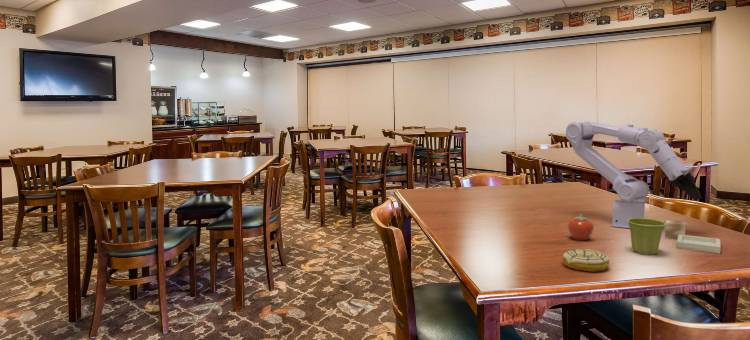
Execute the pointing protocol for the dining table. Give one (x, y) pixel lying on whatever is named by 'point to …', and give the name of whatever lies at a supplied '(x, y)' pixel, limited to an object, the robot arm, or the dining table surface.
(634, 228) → the plant pot
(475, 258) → the dining table surface
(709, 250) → the tray
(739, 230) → the dining table surface
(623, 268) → the dining table surface
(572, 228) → the tomato
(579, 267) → the decorated donut
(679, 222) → the maple block
